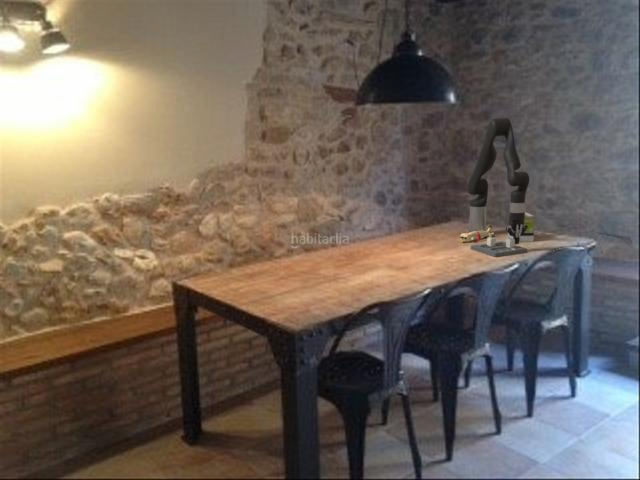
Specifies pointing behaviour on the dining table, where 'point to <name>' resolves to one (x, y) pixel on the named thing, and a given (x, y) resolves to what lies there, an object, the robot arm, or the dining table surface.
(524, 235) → the tea box
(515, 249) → the grey slotted board
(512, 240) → the grey fader
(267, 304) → the dining table surface
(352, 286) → the dining table surface
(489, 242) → the cream fader
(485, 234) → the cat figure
